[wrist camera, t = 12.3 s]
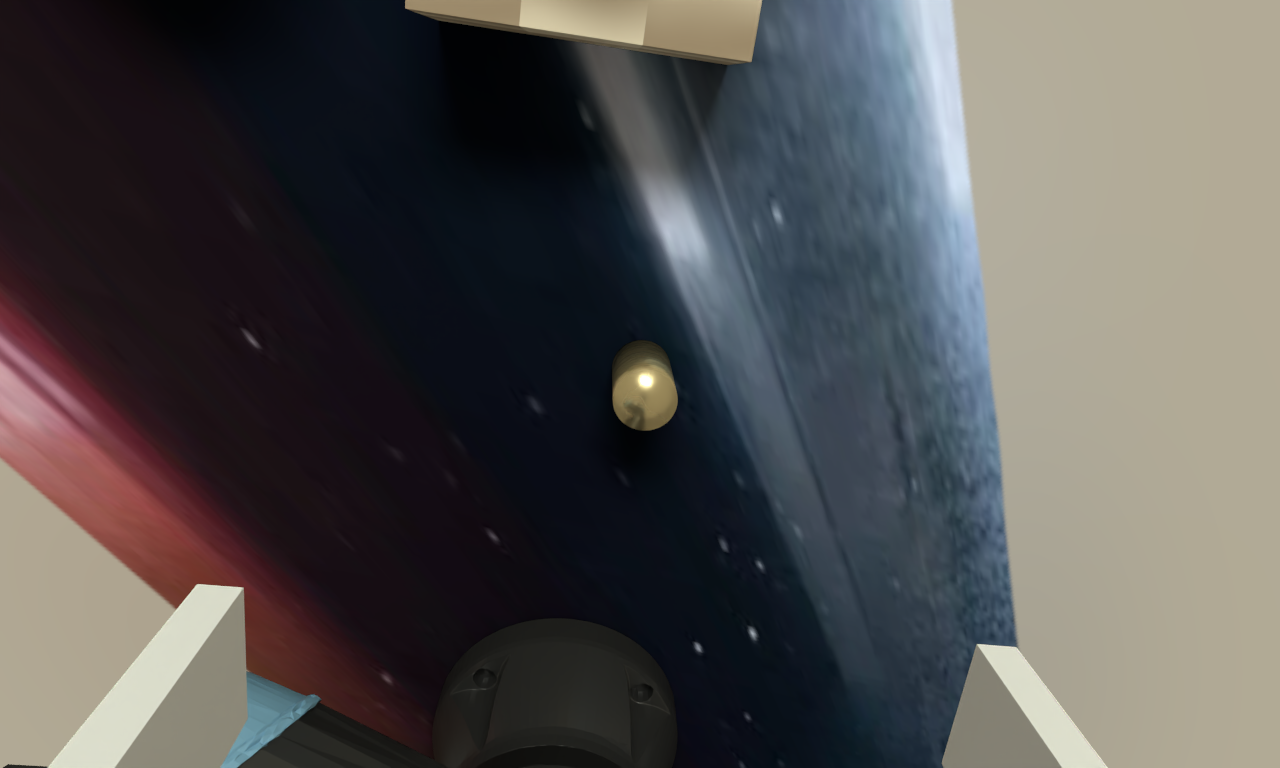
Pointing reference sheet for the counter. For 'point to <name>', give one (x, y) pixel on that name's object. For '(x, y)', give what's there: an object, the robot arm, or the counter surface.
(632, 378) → the brass pin
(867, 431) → the counter surface
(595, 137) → the counter surface
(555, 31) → the birch block
